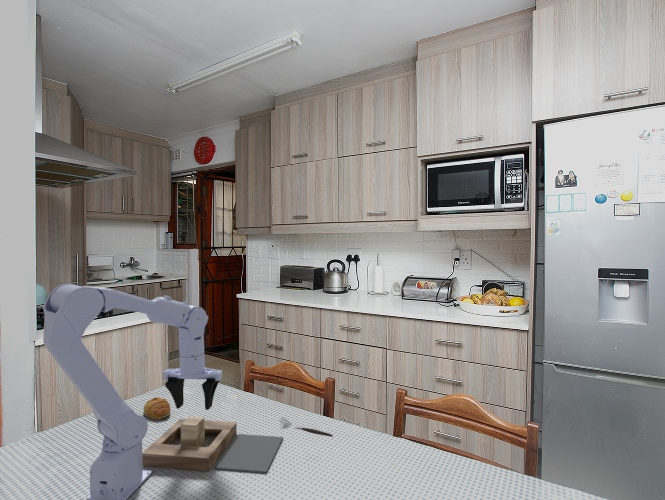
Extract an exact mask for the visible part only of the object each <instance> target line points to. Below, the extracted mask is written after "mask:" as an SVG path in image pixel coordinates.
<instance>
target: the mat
mask: <svg viewBox="0 0 665 500" xmlns="http://www.w3.org/2000/svg"><path fill="white" fill-rule="evenodd" d="M283 440H284V437H283V436H273V435H272V436H271V435H258V434H257V435H255V434H240V433H239V434H238V435H236V437H235V439H234V440H233V442H232V443H231V444H230V445H229V447H228V448H227V450H226V451H224V454H223V455H222V457H221V458H220V460H218V462H217V464H216V465H215V466H214V470H221V471H233V472H234V471H236V472H243V473H244V472H247V473H256V474H257V473H260V474H267V472H268V471H269V468H270V467H271V465H272V462H273V460H274V459H275V456H276V454H277V452H278V450H279V448H280V446H281V444H282V442H283Z"/></svg>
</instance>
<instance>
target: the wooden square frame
mask: <svg viewBox="0 0 665 500" xmlns="http://www.w3.org/2000/svg"><path fill="white" fill-rule="evenodd" d="M186 419H187V418H179V419H178V420H177V421H175V423H174V424H173V425H171V426H170V427H169V428H168V429H167V430H166V431H165V432H164V433H162V435H161V436H159V437H158V438H157V439H156V440H155V441H154V442H153V443H151V444H150V445H149V446H148V447H147V448H146V449H145V450H144V451H142V463H143V467H147V468H149V467H150V468H159V469H170V470H171V469H175V470H184V471H196V472H209V471H210V470H211V469H212V467H213V466H214V464H215V463H216V462H217V461H218V460H219V458H220V457H221V456H222V454H223V453H224V452H225V450H226V449H227V447H228V446H229V444H230V443H231V442H232V440H233V439H234V438H235V436H237V430H238V428H237V427H238V426H237V421H222V420H208V419H207V420H205V419H204V434H211V435H217V436H216V437H215V438H214V440H213V441H212V443H210V445H208V446H206V447H205V446H203V447H195V446H181V444H179V445H178V444H171V443H172V442H173V441H174V440H175V439H176V438H177V437H178V436H179V435H181V424H182V423H183V422H184V421H185V420H186Z"/></svg>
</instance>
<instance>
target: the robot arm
mask: <svg viewBox="0 0 665 500" xmlns="http://www.w3.org/2000/svg"><path fill="white" fill-rule="evenodd" d="M42 309H43V313H44V323H43V324H44V325H43V335H42V336H43V338H42V339H43V343H42V344H43V345H44V347H45V348H46V350H47V351H48V352H49V353H50V355H51V356H52V358H53V360H55V362H56V363H57V364H58V366H59V367H60V368H61V369H62V371H63V372H64V374H65V375H66V376H67V378H68V379H69V380H70V381H71V382H72V384H73V385H74V387H75V388H76V390H78V392H79V394H80V395H81V396H82V397H83V399H84V400H85V401H86V403H87V404H88V405H89V407H90V408H91V409H92V410H93V416H94V417H95V419H96V424H97V426H96V427H97V431H98V432H99V434H101V435H102V436H103V440H102V447H101V452H100V453H99V455H98V456H97V458H96V459H95V460H94V461H93V463H92V464H91V465H90V468H89V494H88V495H87V496H86V500H127V499H128V498H129V497H131V495H132V494H133V493H134V492H135V491H136V490H137V489H139V487H140V486H141V485H142V484H143V483H144V482H145V481H146V480H147V479H148V478H149V477H150V476H151V475H152V473H153V471H152V470H150V469H149V470H148V469H144V468H143V467H144V466H143V463H142V453H143V439H144V438H145V437H146V435H147V432H148V429H149V428H148V427H149V423H148V421H147V419H146V417H145V416H143V415H140V414H138V413H136V412H135V411H134V410H133V408H132V407H131V406H130V405H129V404H128V403H127V402H126V401H125V400H124V399H123V398H122V397H121V396H120V395H119V393H118V391H117V390H116V389H115V387H114V385H113V384H112V383H111V382H110V380H109V378H108V377H107V376H106V374H105V372H104V371H103V370H102V368H101V367H100V365H99V364H98V363H97V361H96V360H95V358H94V357H93V355H92V354H91V353H90V351H89V350H88V349H87V347H86V345H85V344H84V342H83V341H82V338H83V335H84V334H85V331H86V329H87V328H88V327H89V326H90V324H92V322H94V320H95V319H96V318H97V317H98V316H99V314H100V313H101V312H103V313H108V312H109V311H112V310H113V309H121V310H124V311H125V310H126V311H130V312H136V313H141V314H146V315H145V316H146V317H147V319H148V320H149V321H150V322H152V323H153V322H154V323H156V324H157V323H158V324H161V325H167V326H172V327H176V328H178V346H179V347H178V349H179V350H178V351H179V368H167V369H165V370H164V371H163V373H162V374H163V375H162V376H163V380H166V382H165V383H164V386H165V388H166V389H167V390H168V391H169V393H170V395H171V397H172V399H173V402H174V405H175V408H176V409H180V408H181V407H183V406H184V401H185V398H184V397H185V396H184V386H185V380H206V381H204V382H203V383H202V384H201V388H202V391H203V395H204V396H203V397H204V409H205V411H206V410H207V411H208V410H210V409H211V408H212V407H213V401H214V396H215V393H216V390H217V388H218V385H219V383H220V380H222V379H223V369H222V370H221V369H220V370H219V369H214V368H209V367H205V366H206V365H205V363H206V361H205V339H204V338H205V336H204V335H205V327H206V325H207V324H208V321H209V315H208V314H207V313H206V310H204V308H203V307H201V306H196V305H191V304H190V303H189V301H184V300H182V302H181V301H178V300H173V299H172V296H169V295H163V296H156V297H154V298H153V299H147V298H145V297H142V296H137V295H135V294H131V293H127V292H123V291H120V290H116V289H112V288H105V287H97V286H88V285H87V286H86V285H82V286H81V285H77V284H75V283H64V284H63V283H62V284H60V285H57V286H56V287H54V289H52V290H51V292H50V293H49V294H48V296H47V298H46V299H45V302H44V303H43V306H42Z"/></svg>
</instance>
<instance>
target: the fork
mask: <svg viewBox="0 0 665 500" xmlns="http://www.w3.org/2000/svg"><path fill="white" fill-rule="evenodd" d="M278 421H279V422H280V423H281V425H282V426H284V427H285V428H286V429H289V428H290V427H291V426H293V423H291V422H290V421H289V420H287V419H286V418H285V417H284V416H282V417H281V418H279V419H278ZM293 429H295V430H296V429H299V430H303V431H306V432H309V433H312V434H316V435H317V434H319V435H324V436H328V437H333V434H331V433H329V432H325V431H322V430H318V429H314V428H309V427H307V428H306V427H301V426H295V427H294V428H293Z"/></svg>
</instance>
